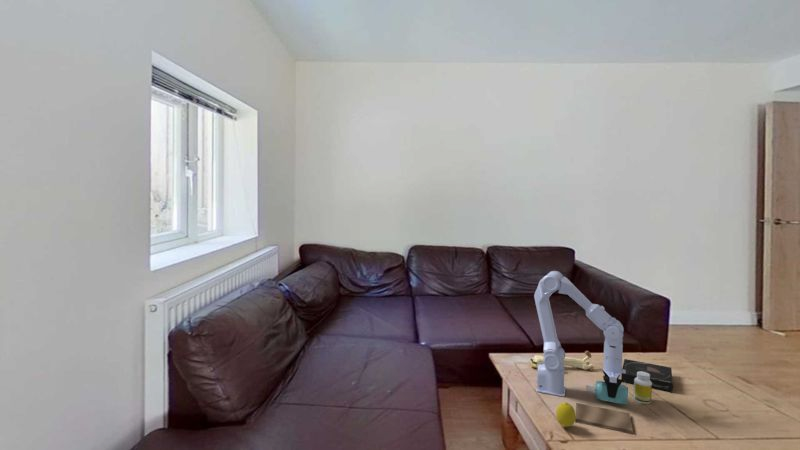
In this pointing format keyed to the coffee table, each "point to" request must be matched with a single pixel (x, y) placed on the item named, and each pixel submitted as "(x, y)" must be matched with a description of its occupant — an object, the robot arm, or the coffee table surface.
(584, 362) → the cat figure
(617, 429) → the serving board
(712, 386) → the coffee table surface
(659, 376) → the portable cd player
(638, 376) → the supplement bottle
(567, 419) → the lemon
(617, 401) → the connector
